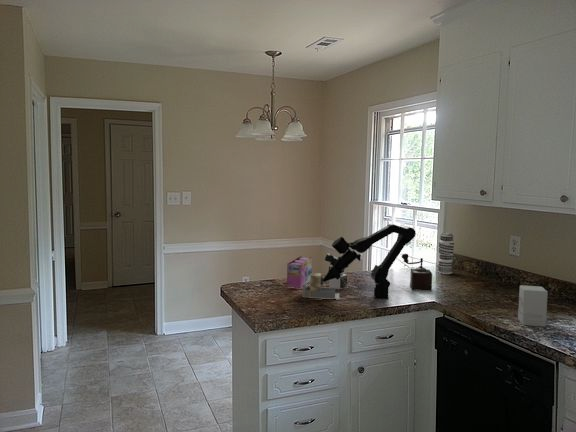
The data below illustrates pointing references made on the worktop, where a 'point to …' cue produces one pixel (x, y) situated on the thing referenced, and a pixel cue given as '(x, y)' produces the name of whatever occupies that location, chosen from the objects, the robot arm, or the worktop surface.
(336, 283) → the medicine bottle
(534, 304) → the supplement box
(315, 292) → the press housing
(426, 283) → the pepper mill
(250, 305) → the worktop surface
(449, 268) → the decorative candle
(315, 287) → the beige cube with disc
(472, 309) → the worktop surface
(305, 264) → the gum box
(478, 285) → the worktop surface
